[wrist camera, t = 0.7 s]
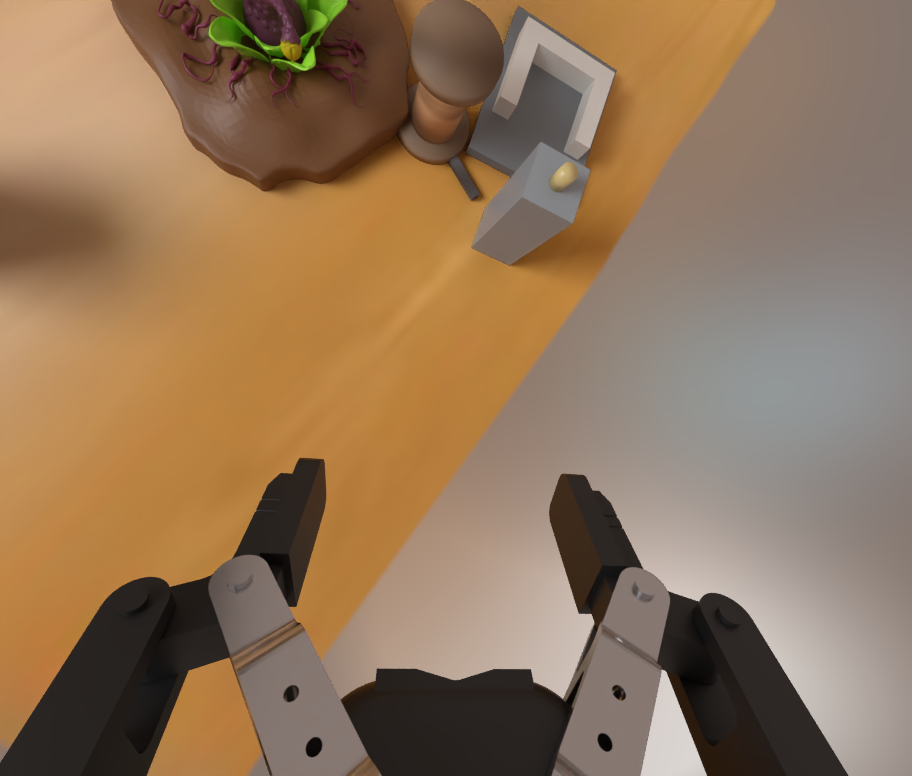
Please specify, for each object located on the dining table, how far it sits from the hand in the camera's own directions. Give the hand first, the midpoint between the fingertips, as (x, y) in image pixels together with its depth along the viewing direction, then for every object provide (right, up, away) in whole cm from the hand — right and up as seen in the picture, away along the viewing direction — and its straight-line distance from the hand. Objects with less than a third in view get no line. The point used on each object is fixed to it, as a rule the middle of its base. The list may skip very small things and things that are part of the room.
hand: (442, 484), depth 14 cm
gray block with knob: (+4, +17, +24) cm, 30 cm away
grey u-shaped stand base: (+8, +29, +25) cm, 39 cm away
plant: (-13, +30, +19) cm, 38 cm away
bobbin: (-1, +25, +22) cm, 33 cm away
